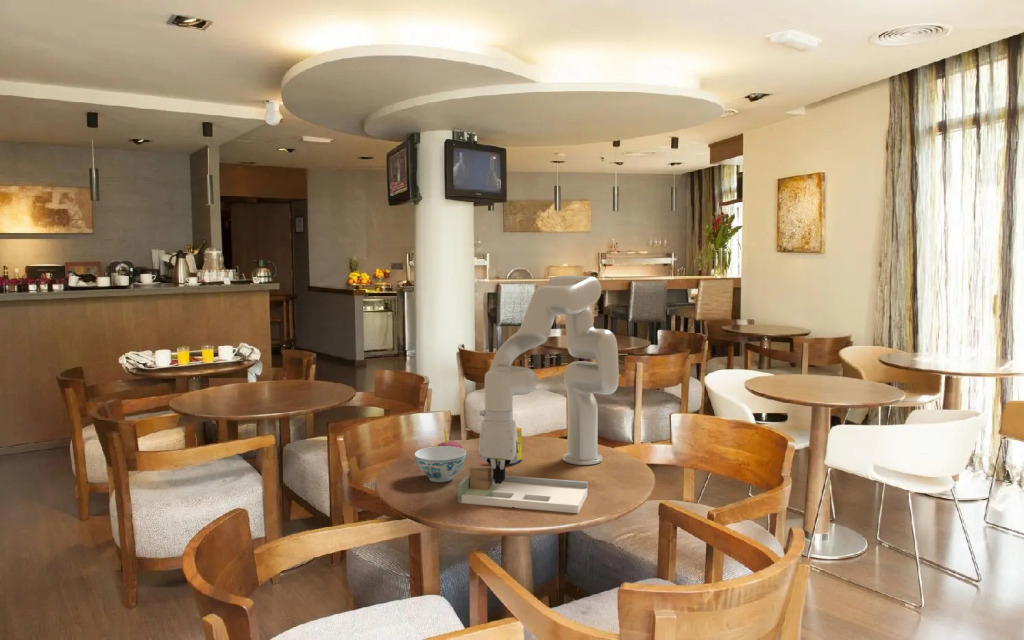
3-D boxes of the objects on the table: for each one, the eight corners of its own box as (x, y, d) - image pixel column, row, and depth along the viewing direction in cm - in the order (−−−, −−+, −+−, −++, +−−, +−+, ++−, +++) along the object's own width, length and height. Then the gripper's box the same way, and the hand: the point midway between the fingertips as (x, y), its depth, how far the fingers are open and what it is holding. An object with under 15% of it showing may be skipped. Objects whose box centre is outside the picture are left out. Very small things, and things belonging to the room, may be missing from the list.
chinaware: (477, 477, 206) (476, 452, 206) (438, 490, 196) (437, 463, 195) (443, 468, 217) (442, 443, 216) (404, 479, 206) (404, 453, 205)
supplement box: (522, 461, 223) (522, 427, 222) (512, 466, 218) (511, 431, 217) (506, 458, 226) (506, 425, 226) (496, 463, 221) (495, 429, 220)
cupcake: (451, 469, 215) (451, 430, 214) (430, 465, 220) (429, 427, 219) (468, 462, 223) (467, 425, 222) (446, 458, 227) (446, 422, 226)
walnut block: (474, 483, 195) (474, 465, 195) (492, 484, 194) (492, 466, 194) (469, 488, 190) (469, 470, 190) (487, 490, 189) (487, 471, 189)
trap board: (476, 485, 200) (475, 468, 199) (587, 494, 191) (587, 476, 191) (458, 502, 185) (457, 484, 185) (578, 513, 177) (578, 493, 176)
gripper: (468, 417, 188) (468, 484, 190) (522, 420, 184) (522, 488, 186) (476, 411, 196) (477, 476, 197) (528, 414, 192) (529, 480, 193)
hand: (499, 482), depth 191 cm, fingers closed
